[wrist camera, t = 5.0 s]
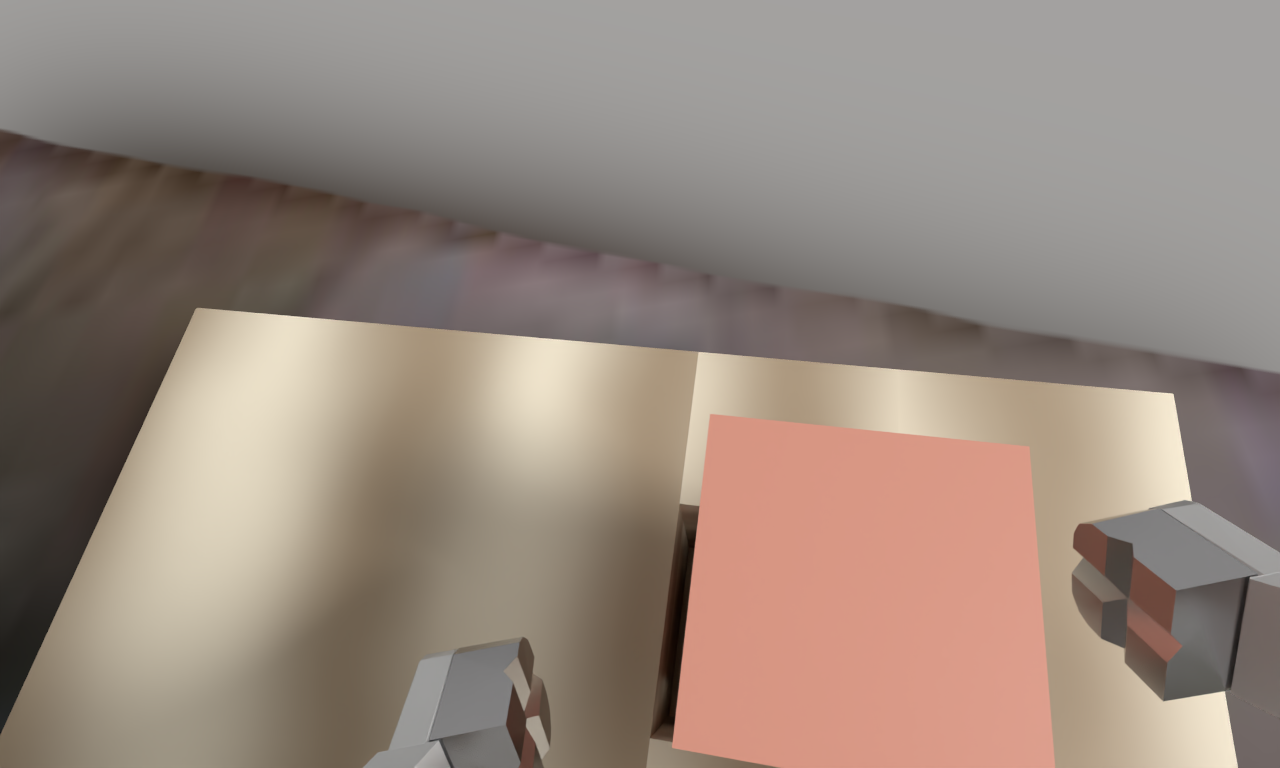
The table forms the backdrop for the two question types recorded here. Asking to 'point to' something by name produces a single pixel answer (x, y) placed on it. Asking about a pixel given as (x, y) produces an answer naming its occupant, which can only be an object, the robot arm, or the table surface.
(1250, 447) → the table surface
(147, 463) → the beige wooden block
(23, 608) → the table surface
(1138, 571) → the robot arm
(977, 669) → the salmon pink square peg
